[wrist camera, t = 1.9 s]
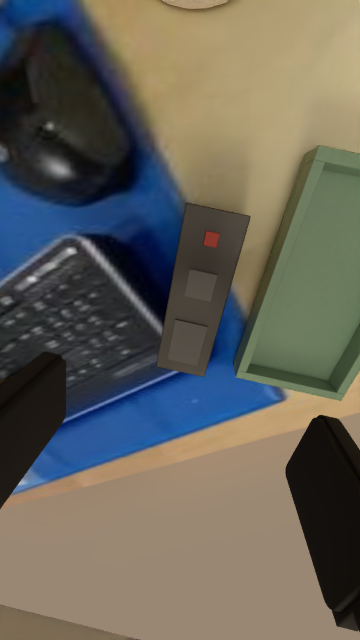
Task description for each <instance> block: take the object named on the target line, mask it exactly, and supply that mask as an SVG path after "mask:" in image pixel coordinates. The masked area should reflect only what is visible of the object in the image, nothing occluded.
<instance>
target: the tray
mask: <svg viewBox="0 0 360 640" xmlns="http://www.w3.org/2000/svg"><path fill="white" fill-rule="evenodd" d="M233 364H234V370H235V376H236V377H237V378H241V379H246V380H250V381H255V382H259V383H264V384H268V385H272V386H277V387H281V388H286V389H290V390H295V391H299V392H304V393H308V394H312V395H317V396H321V397H326V398H330V399H335V400H339V401H341V400H342V398H343V397H344V395H345V393H346V392H347V390H348V389H349V387H350V385H351V384H352V382H353V381H354V379H355V377H356V376H357V374H358V372H359V371H360V154H358V153H353V152H348V151H344V150H339V149H334V148H329V147H324V146H317V147H316V148H314V149H313V150H311V151H310V152H308V153H307V154H305V156H304V159H303V162H302V165H301V168H300V170H299V173H298V176H297V179H296V182H295V185H294V188H293V191H292V194H291V197H290V200H289V203H288V205H287V208H286V211H285V214H284V217H283V220H282V223H281V226H280V229H279V232H278V235H277V237H276V240H275V243H274V246H273V249H272V252H271V255H270V258H269V261H268V264H267V267H266V270H265V272H264V275H263V278H262V281H261V284H260V287H259V290H258V293H257V296H256V299H255V302H254V304H253V307H252V310H251V313H250V316H249V319H248V322H247V325H246V328H245V331H244V334H243V337H242V339H241V342H240V345H239V348H238V351H237V354H236V357H235V360H234V363H233Z"/></svg>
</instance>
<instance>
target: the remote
mask: <svg viewBox="0 0 360 640" xmlns="http://www.w3.org/2000/svg"><path fill="white" fill-rule="evenodd" d="M249 221H250V216H248V215H243V214H238V213H233V212H229V211H224V210H219V209H214V208H210V207H205V206H200V205H196V204H191V203H186V205H185V211H184V216H183V222H182V227H181V233H180V238H179V244H178V249H177V255H176V260H175V266H174V271H173V277H172V282H171V288H170V293H169V299H168V304H167V310H166V315H165V321H164V326H163V332H162V337H161V342H160V348H159V353H158V359H157V364H156V366H158V367H162V368H167V369H171V370H176V371H180V372H185V373H189V374H193V375H198V376H202V377H204V376H205V372H206V369H207V365H208V362H209V359H210V355H211V352H212V348H213V345H214V341H215V338H216V334H217V331H218V328H219V324H220V321H221V317H222V314H223V310H224V307H225V303H226V300H227V297H228V293H229V290H230V286H231V283H232V279H233V276H234V273H235V269H236V266H237V262H238V259H239V255H240V252H241V248H242V245H243V242H244V238H245V235H246V231H247V228H248V224H249Z"/></svg>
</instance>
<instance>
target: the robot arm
mask: <svg viewBox="0 0 360 640" xmlns="http://www.w3.org/2000/svg"><path fill="white" fill-rule="evenodd" d="M162 1H164V2H166V3H167V4H171V5H174V6H178V7H182V8H186V9H204V8H209V7H213V6H216V5H220V4H223V3H226V2H228V1H230V0H162ZM65 414H66V361H65V360H63V359H62V356H61V355H59V354H54V353H50V352H43V353H41V354H40V355H39V356H38V357H36V358H35V359H34V360H32V361H31V362H30V363H29V364H27V365H26V366H25V367H24V368H22V369H21V370H20V371H19V372H17V373H16V374H15V375H14V376H12V377H11V378H10V379H9V380H7V381H6V382H5V383H3V384H2V385H1V386H0V509H1V507H2V506H3V504H4V503H5V502H6V500H7V499H8V497H9V496H10V495H11V493H12V492H13V491H14V489H15V488H16V486H17V485H18V484H19V482H20V481H21V479H22V478H23V477H24V475H25V474H26V473H27V471H28V470H29V468H30V467H31V466H32V464H33V463H34V461H35V460H36V459H37V457H38V456H39V454H40V453H41V452H42V450H43V449H44V448H45V446H46V445H47V443H48V442H49V441H50V439H51V438H52V436H53V435H54V434H55V432H56V431H57V430H58V428H59V427H60V425H61V424H62V422H63V420H64V418H65ZM286 478H287V481H288V484H289V488H290V491H291V494H292V497H293V500H294V504H295V507H296V510H297V513H298V516H299V520H300V523H301V526H302V530H303V533H304V536H305V539H306V542H307V546H308V549H309V552H310V556H311V558H312V562H313V565H314V568H315V572H316V575H317V578H318V581H319V585H320V588H321V591H322V594H323V597H324V600H325V603H326V604H327V606H328V607H329V608H330V609H331V610H332V613H333V616H334V619H335V622H336V625H337V626H338V627H342V628H346V629H350V630H354V631H358V630H359V632H360V450H359V448H358V447H357V445H356V444H355V442H354V441H353V439H352V438H351V436H350V435H349V433H348V432H347V430H346V429H345V427H344V426H343V424H342V423H341V422H340V421H339V419H337V418H333V417H328V416H324V415H319V416H318V417H317V418H313V419H312V421H311V422H310V424H309V426H308V428H307V430H306V432H305V433H304V435H303V437H302V439H301V440H300V442H299V444H298V446H297V448H296V449H295V451H294V453H293V455H292V456H291V458H290V460H289V462H288V464H287V466H286ZM0 640H139V639H135V638H131V637H127V636H123V635H119V634H116V633H112V632H108V631H104V630H100V629H96V628H92V627H88V626H84V625H79V624H76V623H72V622H68V621H64V620H59V619H56V618H52V617H48V616H43V615H40V614H36V613H32V612H27V611H24V610H19V609H15V608H12V607H7V606H4V605H0Z"/></svg>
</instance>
